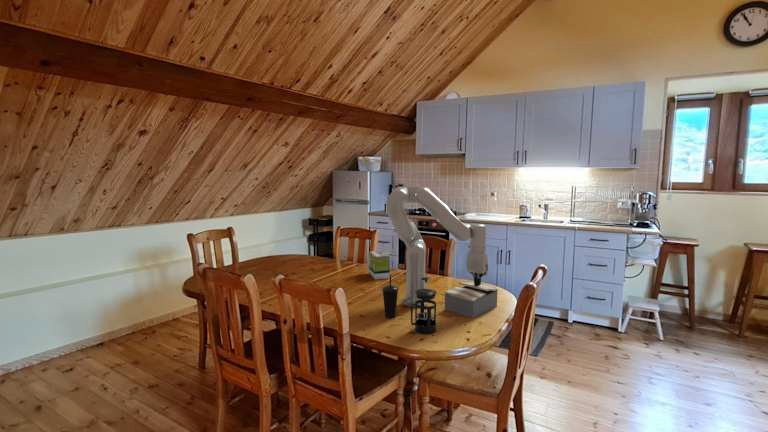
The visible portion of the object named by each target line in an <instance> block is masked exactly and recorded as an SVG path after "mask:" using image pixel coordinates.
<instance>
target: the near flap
mask: <svg viewBox="0 0 768 432" xmlns="http://www.w3.org/2000/svg"><path fill="white" fill-rule="evenodd" d="M463 287H464V286H459V285H458V286H457V285H456V286H455V287H453V288H450V289H448V290H446V291H445V292H444V295H445V294H448V295H452V296H455V297H459V298H463V299H466V300H470V301H475V300H477V299H479V298H481V297H483V296H485V295H486V293H483V292H479V291H475V290H471V289H467V288H463Z"/></svg>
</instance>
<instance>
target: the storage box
mask: <svg viewBox="0 0 768 432" xmlns="http://www.w3.org/2000/svg"><path fill="white" fill-rule="evenodd" d="M462 287H463V288H467V289H471V290H475V291H479V292H483V293H486V295H485V296H483V297H481V298H479V299H477V300H475V301H470V300H466V299H463V298H459V297H455V296H452V295H448V294H445V293H444V310H446V311H448V312H451V313H454V314H458V315H462V316H465V317H467V318H471V319H475V318H476V317H478V316H480V315H482V313H483V314H484V312H485V313H487V312H489V311H491V310H493V309H495V308H496V307H498V291H485V290H481V289H477V288H473V287H469V286H465V285H463V286H462ZM486 311H487V312H486Z"/></svg>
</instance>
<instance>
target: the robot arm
mask: <svg viewBox="0 0 768 432" xmlns="http://www.w3.org/2000/svg"><path fill="white" fill-rule="evenodd" d="M405 204H418V205H420V206H421V208H423V209H424V210H425V211H426V212H427V213H429V214H430V215H431V216H432V218H433V219H435V220H436V222H438V223H439V224H440V225H441V226H442V227H443V228H444V229H446V231H448V232H449V233H450V234H451V235H452V236H453V237H454V238H455V239H456V240H458V241H460V242H466V241H468V240H469V245H468V246H467V248H468V249H469V250H468V252H467V256H466V264H465V265H466V266H465V267H466V271H467V273H468V274H471V275H472V278H473V283H474V286H479V285H481V284H482V283H481V282H482V277H485V276H488V274H489V273H488V272H489V259H488V252H487V251H486V249H487V248H486V246H487V245H486V244H487V243H486V241H487V239H486V238H487V237H486V236H487V230H486V229H487V226H486V225H485V224H482V223H473V224H472V223H465V222H462V221H461V220H460V219H459V218H457V216H456V215H455V214H454V213H453V212H452V211H451V209H450V208H449V206H448V205H447V204H446V203H444V202H443V200H441V199H440V198H439V197H438V196H436V194H434V193H433V192H432V191H431V189H430V188H429V187H427V186H424V185H423V186H397V187H396V188H394V189H393V190H392V192H390V194H389V196H388V197H387V199H386V203H385V208H386V213H387V215H388V218H389V219H390V221H391V224H392V226H393V227H394V229H395V232H396V234H397V237H398V238H399V239H400V241H402V242H403V243H404V244H405V246H406V251H405V259H406V261H405V262H406V263H405V266H406V268H405V269H406V270H405V271H406V277H405V280H406V281H405V282H406V284H405V289H406V291H405V295H404V298H402V299H400V300H399V302H400V303H401V304H404V305H405V306H406V307H410V308H411V304H415V302H416V301H418V300H422V299H418V298H417V297H416V293H415V291H416V290H418V289H426V283H425V280H422V279H421V278H423V277H426V255H427V254H426V253H427V246H426V243H425V240H424V239H423V237H422V235H421V233H420V231H419V229H418V227H417V225H416V224H415V223H414V222H413V221H412V220H410V218H409V217H408V214H407V212H406V210H405V207H404V205H405ZM428 304H429V303H426V306H428ZM417 305H419V306H420V303H418V304H417ZM424 306H425V302H424ZM413 308H415V306H413Z"/></svg>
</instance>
